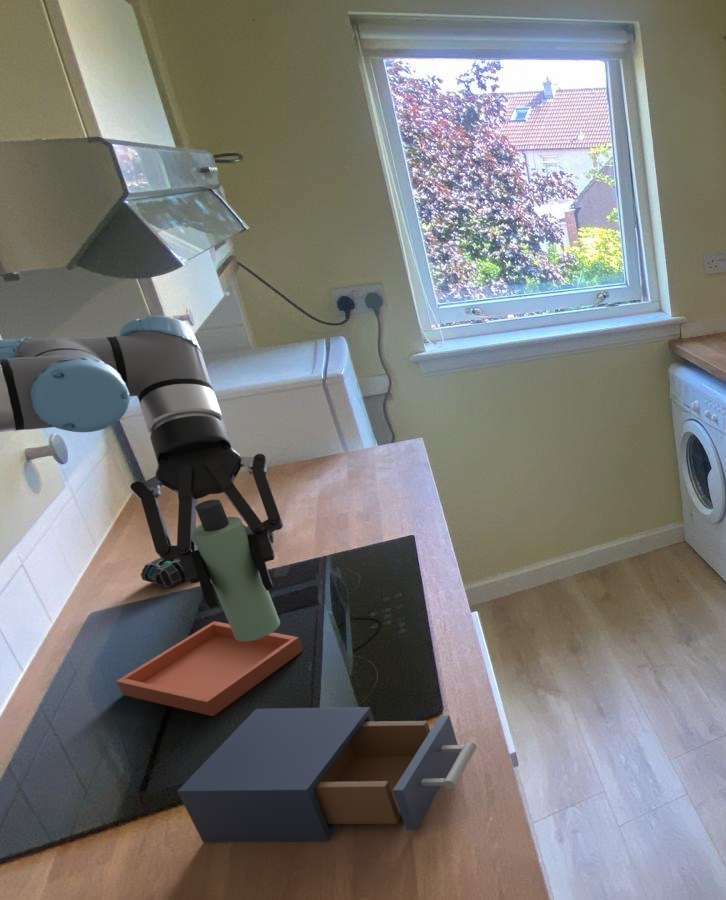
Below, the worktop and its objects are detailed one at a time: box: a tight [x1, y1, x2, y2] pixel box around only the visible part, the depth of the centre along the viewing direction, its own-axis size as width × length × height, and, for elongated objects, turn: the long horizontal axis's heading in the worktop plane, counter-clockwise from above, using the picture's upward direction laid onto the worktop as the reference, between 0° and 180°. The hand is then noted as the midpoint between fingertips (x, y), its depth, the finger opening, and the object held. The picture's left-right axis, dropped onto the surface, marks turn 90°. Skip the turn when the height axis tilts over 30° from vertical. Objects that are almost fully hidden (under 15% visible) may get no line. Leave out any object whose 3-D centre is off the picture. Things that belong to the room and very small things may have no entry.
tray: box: [115, 620, 304, 717], centre depth 111 cm, size 18×15×3 cm
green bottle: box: [192, 499, 281, 642], centre depth 89 cm, size 5×5×18 cm
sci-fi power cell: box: [140, 523, 275, 588], centre depth 139 cm, size 4×19×10 cm
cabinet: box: [176, 706, 376, 843], centre depth 88 cm, size 15×13×8 cm
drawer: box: [313, 714, 477, 831], centre depth 88 cm, size 18×11×6 cm, turn 89°
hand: (240, 594), depth 87 cm, fingers closed on green bottle, 5 cm apart
